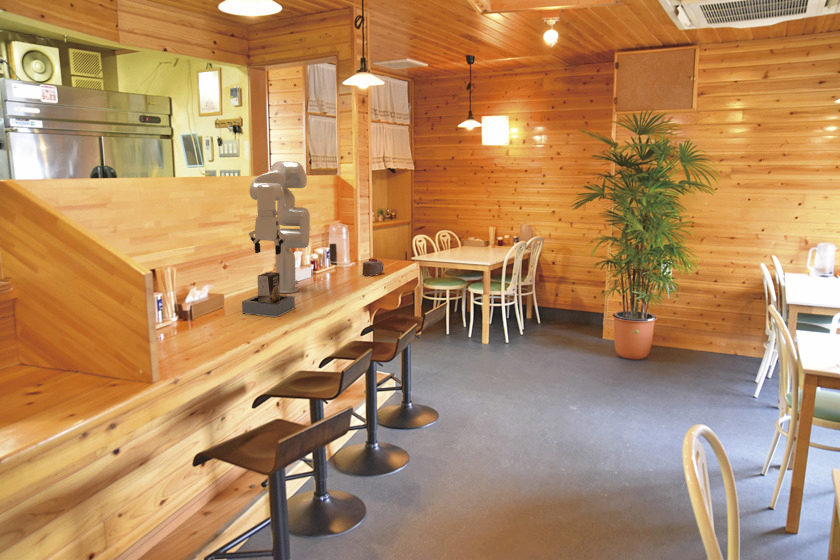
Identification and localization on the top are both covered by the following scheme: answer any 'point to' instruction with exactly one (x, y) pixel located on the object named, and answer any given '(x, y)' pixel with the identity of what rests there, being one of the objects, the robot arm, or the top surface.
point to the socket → (268, 306)
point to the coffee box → (269, 287)
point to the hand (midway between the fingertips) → (267, 253)
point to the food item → (372, 267)
